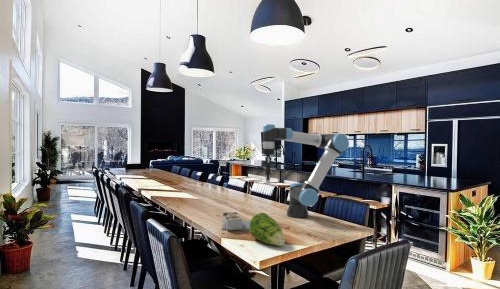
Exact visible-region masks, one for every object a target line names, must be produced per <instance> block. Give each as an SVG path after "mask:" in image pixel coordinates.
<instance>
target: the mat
mask: <svg viewBox="0 0 500 289" xmlns="http://www.w3.org/2000/svg"><path fill="white" fill-rule="evenodd" d="M250 221H251V220H242V229H238V230H237V231H245V232H247V231H248V232H250V230H249V223H250ZM221 231H228V230H227V229H226V227H225V225H224V224H223V225H222V227H221Z"/></svg>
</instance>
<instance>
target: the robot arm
mask: <svg viewBox="0 0 500 289" xmlns="http://www.w3.org/2000/svg"><path fill="white" fill-rule="evenodd" d="M262 127H263V128H262V143H261V145H262V155H266V156H265V157H264V160H265V174H264V175H265V185H266V186H271V175H272V173H271V164H272V155H275V140H278V141H286V142H291V143H298V144H304V145H309V146H310V145H311V146H315V147H316V148H320V149H324V152H323V154H322V155H321V157H320V159H318V162H317V164H316V165H315V167H314V169H313V171H312V172H311V174H310V176H309V177H308V179H307V180H305V181H303V182H302V183H301V182H298V183H296V182H294V183H292V182H291V183H290V184H289V205H288V208H287V210H286V216H287V217H289V218H295V219H296V218H297V219H304V218H308V217H309V211H308V207H311V206H313V205H316V203H317V202H318V200H319V192H320V186H321V184H322V183H323V180H324V179H325V177H326V175H327V174H328V172H329V170H330V169H331V167H332V166H333V164H334V163H335V162H334V161H335V160H336V158H338V157H339V158H340V157H341V154H342V153H343V152H345V151H347V149H349V146H350V141H349V138H348V137H347V135H346V134H343V133H329V134H328V133H326V134H321V133H318V134H314V133H306V132H301V131H294V130H293V129H292V128H289V127H276V125H275V124H270V123H269V124H267V123H266V124H264V125H263V126H262Z"/></svg>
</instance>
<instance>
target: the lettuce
mask: <svg viewBox="0 0 500 289" xmlns="http://www.w3.org/2000/svg"><path fill="white" fill-rule="evenodd" d="M249 221H250V223H249V230H250V231H249V234H251V236H252V237H254V238H255V239H256V240H258V241H260V242H262V243H264V244H267V245H271V246H272V245H274V246H278V247H279V246H284V245H285V243H286V241H285V236H284V232H283V229H282V228H281V227H280V226H279V224H278V223H277V221H276V220H275V219H274V218H272V217H271V216H270V215H268V214H267V213H265V212H259V213H256V214H255V215H254V216H252V217H251V219H250V220H249Z"/></svg>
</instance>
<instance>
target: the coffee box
mask: <svg viewBox="0 0 500 289" xmlns="http://www.w3.org/2000/svg"><path fill="white" fill-rule="evenodd" d="M242 221H243V218H242V217H241V216H240V214H239V213H238V212H236V211H235V212H232V211H231V212H223V213H222V224H223V225H225V227H226V229H227V230H226V231H239V230H238V229H242Z"/></svg>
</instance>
